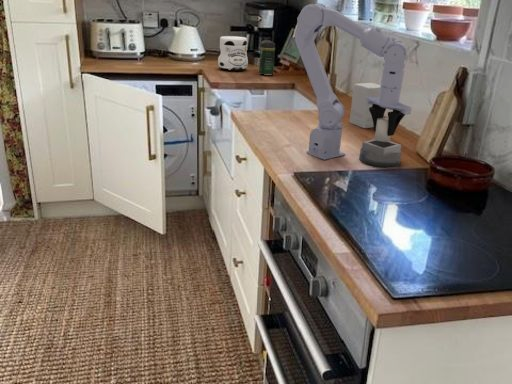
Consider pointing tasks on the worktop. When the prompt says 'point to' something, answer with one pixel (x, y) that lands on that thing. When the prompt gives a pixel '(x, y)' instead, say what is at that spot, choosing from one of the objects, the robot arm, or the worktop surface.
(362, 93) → the supplement box
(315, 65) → the robot arm
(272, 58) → the coffee jar
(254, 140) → the worktop surface
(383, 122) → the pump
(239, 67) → the milk container
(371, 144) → the square tube on disc
